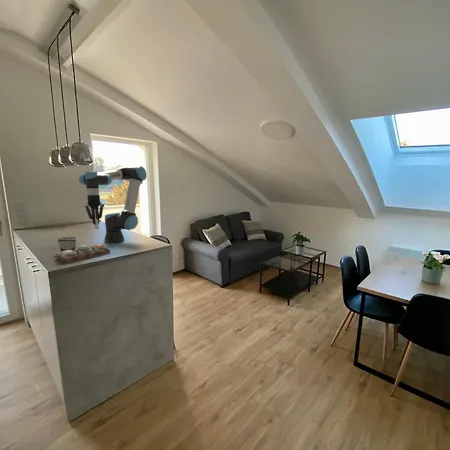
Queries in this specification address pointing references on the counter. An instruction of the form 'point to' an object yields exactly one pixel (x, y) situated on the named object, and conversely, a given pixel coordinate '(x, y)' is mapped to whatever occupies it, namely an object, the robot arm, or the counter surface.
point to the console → (82, 254)
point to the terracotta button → (98, 245)
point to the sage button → (83, 247)
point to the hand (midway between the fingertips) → (96, 228)
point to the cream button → (66, 252)
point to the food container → (67, 243)
